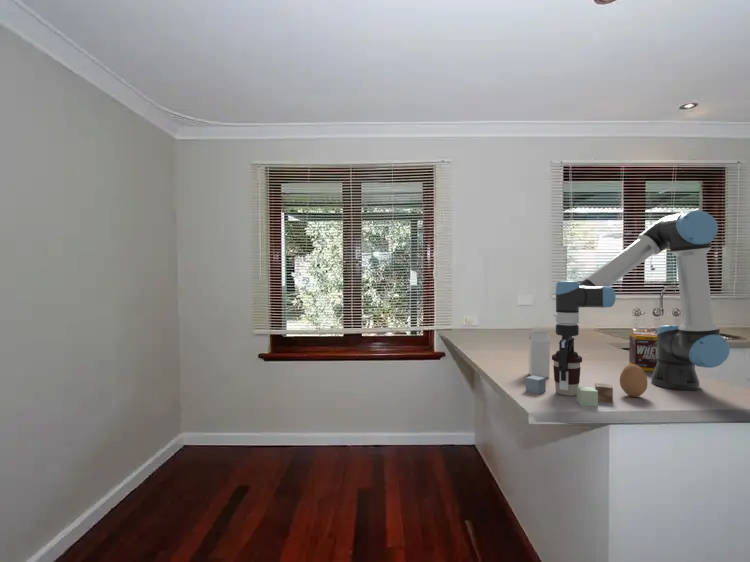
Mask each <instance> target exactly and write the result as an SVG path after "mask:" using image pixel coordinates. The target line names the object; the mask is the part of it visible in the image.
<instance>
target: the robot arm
mask: <svg viewBox="0 0 750 562" xmlns="http://www.w3.org/2000/svg"><path fill="white" fill-rule="evenodd" d="M718 229H719V227H718V223H717V220H716V219H715V217H713V216H712V214H710V213H708V212H707V211H703V210H688V211H683V212H679V213H675V214H670V215H667V216H664V217H662V218H660V219H658V220H657V221H655V223H653V224H652V225H650V226H649V227H648V228H647V229H645V230H644V231H643V232H641V233H640V234H638V236H637V239H636V240H635V241H634V242H632V244H630V245H628V246H627V247H626V248H625V249H624V250H622V251H621V252H619V253H618V254H617V255H615V256H614V257H613V258H612V259H610V260H608V262H606V263H605V264H604V265H602V266H601V267H600V268H598V269H597V270H595V271H594V272H593V273H592V274H590V275H589V276H588V277H586V278H585V279H583V280H582V281H581V282H579V281H578V280H560V281H557V282H556V285H555V313H554V315H553V317H555V323H556V324H555V334H556V335H558V336H561V339H560V340H559V343H558V344H559V346H558V347H559V348H558V349H559V350H558V351H559V366H558V369H557V371H560V389H561V390H568V361H567V359H568V357H569V353H571V351H574V352H575V337H577V336H579V329H580V328H579V327H580V326H579V323H580V321H579V319H580V310H579V309H580V308H601V309H604V308H612V307H614V306H615V303H616V291H615V289H614V288H613V287H612V285H614V284H615V283H617V281H619V280H621V279H622V278H623V277H624V276H626V275H627V274H628V273H630V272H631V271H632V270H634V269H635V268H637V267H638V266H639V265H640V264H642V263H643V262H644V261H646V260H647V259H649V258H650V257H651V256H652V255H653V256H654V255H655V256H656V255H659V254H660V253H662V252H663V251H664V250H666V249H669V251H670V253H671V254H672V255H673V256H675V258H676V259H675V261H676V268H677V269H676V270H677V278H678V279H677V280H678V287H679V288H678V289H679V299H680V309H681V318H682V320H681V321H682V323H681V324H680V325H659V326H658V327H657V330H656V331H657V332H656V333H657V364H656V367H655V369H654V372H653V371H652V374H651V376H650V377H651V379H650V380H651V384H652V385H655V386H657V387H660V388H665V389H672V390H680V391H696V389H697V390H700V380H699V376H698V375H697V372H696V369H695V367H701V368H706V369H712V368H716V367H719V366H721V365H723V363H724V362H726V361H727V359H728V358H729V355H730V351H731V349H730V345H729V342H728V341H727V340H726V339H725V338H724V337H723V336H721V332H720V327H719V326H718V325H717V323H715V322H714V318H713V308H712V297H711V287H710V278H709V277H710V276H709V267H708V257H707V253H708V252H709V251H710V250H711V249H712V241H713V240H714V239H715V237H717V235H718Z"/></svg>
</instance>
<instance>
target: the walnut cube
mask: <svg viewBox="0 0 750 562" xmlns="http://www.w3.org/2000/svg"><path fill="white" fill-rule="evenodd" d="M594 386H595V387H594V389H596V390H597V391H598V402H605V403H610V404H611V403H613V402H614V400H613V399H614V398H613V397H614V388H613V384H610V383H601V382H600V383H599V382H595V385H594Z"/></svg>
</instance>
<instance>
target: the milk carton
mask: <svg viewBox="0 0 750 562" xmlns="http://www.w3.org/2000/svg"><path fill="white" fill-rule="evenodd" d="M550 351H551V350H550V337H549V330H533V329H532V330H530V331H529V337H528V373H529V375H530V376H538V377H544V378H550V360H551V359H550V357H551V355H550V354H551V353H550Z"/></svg>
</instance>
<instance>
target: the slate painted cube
mask: <svg viewBox="0 0 750 562" xmlns="http://www.w3.org/2000/svg"><path fill="white" fill-rule="evenodd" d="M546 378H547V377H538V376H531V375H530V376H527V377H525V391H526V392H530V393H532V394H533V393H534V394H542V393H545V392H546V386H547V385H546V381H547V380H546Z"/></svg>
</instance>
